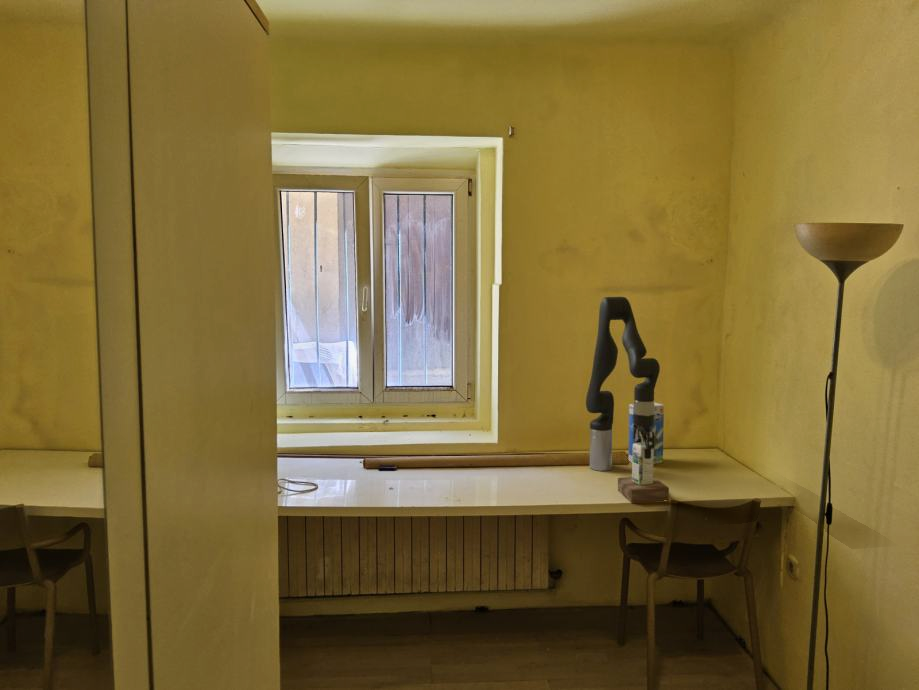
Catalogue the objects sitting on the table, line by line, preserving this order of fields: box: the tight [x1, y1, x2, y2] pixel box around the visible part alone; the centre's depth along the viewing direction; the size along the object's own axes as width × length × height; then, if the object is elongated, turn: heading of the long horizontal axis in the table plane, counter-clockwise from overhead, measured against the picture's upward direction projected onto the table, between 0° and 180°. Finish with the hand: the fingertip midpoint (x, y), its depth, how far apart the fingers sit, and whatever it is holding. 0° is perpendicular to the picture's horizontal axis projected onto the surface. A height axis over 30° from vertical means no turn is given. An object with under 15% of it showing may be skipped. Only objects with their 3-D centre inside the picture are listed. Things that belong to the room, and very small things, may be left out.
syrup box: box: [631, 443, 654, 485], centre depth 241 cm, size 6×6×14 cm
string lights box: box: [628, 401, 665, 465], centre depth 283 cm, size 13×8×26 cm, turn 109°
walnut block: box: [617, 475, 670, 504], centre depth 241 cm, size 14×14×5 cm
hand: (643, 455), depth 240 cm, fingers open, 8 cm apart
